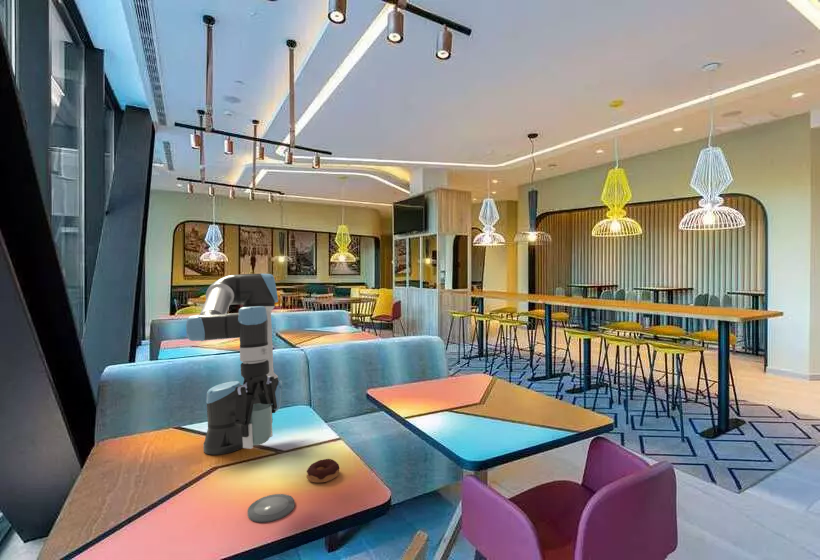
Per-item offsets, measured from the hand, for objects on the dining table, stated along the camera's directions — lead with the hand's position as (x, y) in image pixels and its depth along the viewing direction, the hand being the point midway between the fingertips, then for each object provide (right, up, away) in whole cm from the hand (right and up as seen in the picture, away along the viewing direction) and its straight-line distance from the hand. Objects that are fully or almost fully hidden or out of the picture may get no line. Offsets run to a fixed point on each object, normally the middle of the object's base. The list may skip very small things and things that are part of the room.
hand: (258, 441), depth 115 cm
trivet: (+5, -16, -5) cm, 18 cm away
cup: (0, -1, 0) cm, 1 cm away
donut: (+16, -16, +12) cm, 26 cm away
